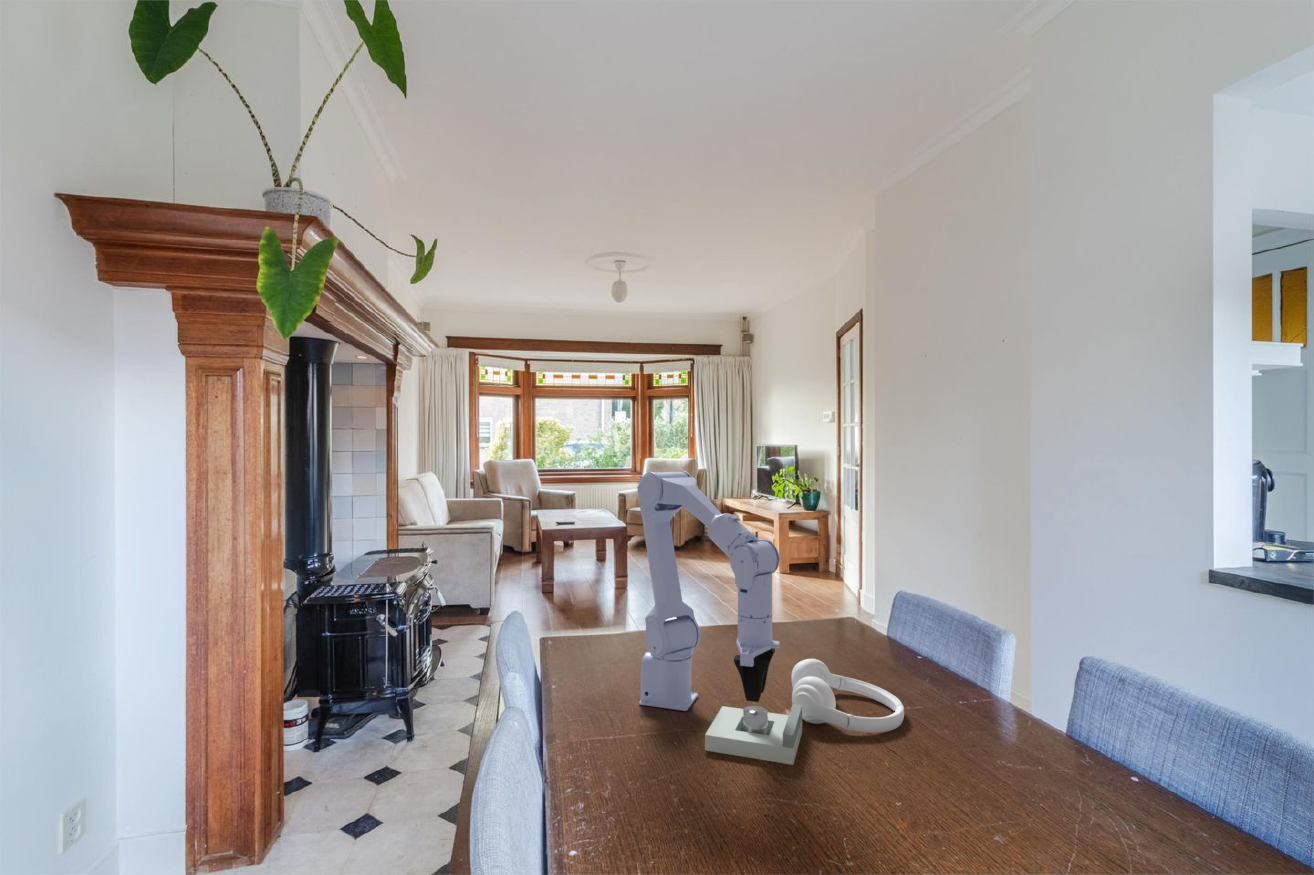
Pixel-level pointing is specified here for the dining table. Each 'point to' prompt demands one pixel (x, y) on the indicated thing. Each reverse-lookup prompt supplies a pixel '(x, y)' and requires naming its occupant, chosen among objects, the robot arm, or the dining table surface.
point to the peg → (755, 720)
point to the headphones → (820, 701)
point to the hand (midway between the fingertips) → (755, 696)
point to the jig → (756, 736)
